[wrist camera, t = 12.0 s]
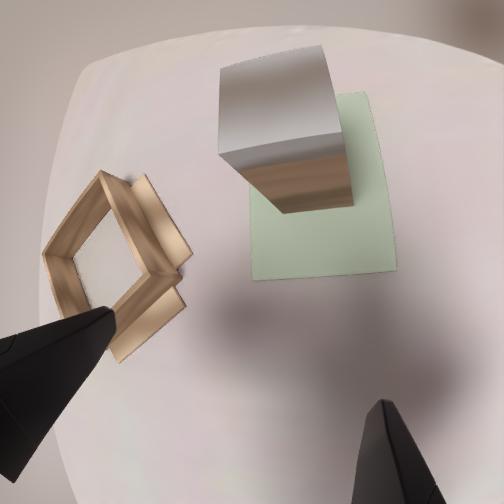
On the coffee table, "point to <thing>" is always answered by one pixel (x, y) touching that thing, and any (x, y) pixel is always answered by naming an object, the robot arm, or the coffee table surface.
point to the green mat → (331, 216)
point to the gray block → (285, 130)
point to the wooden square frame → (142, 246)
